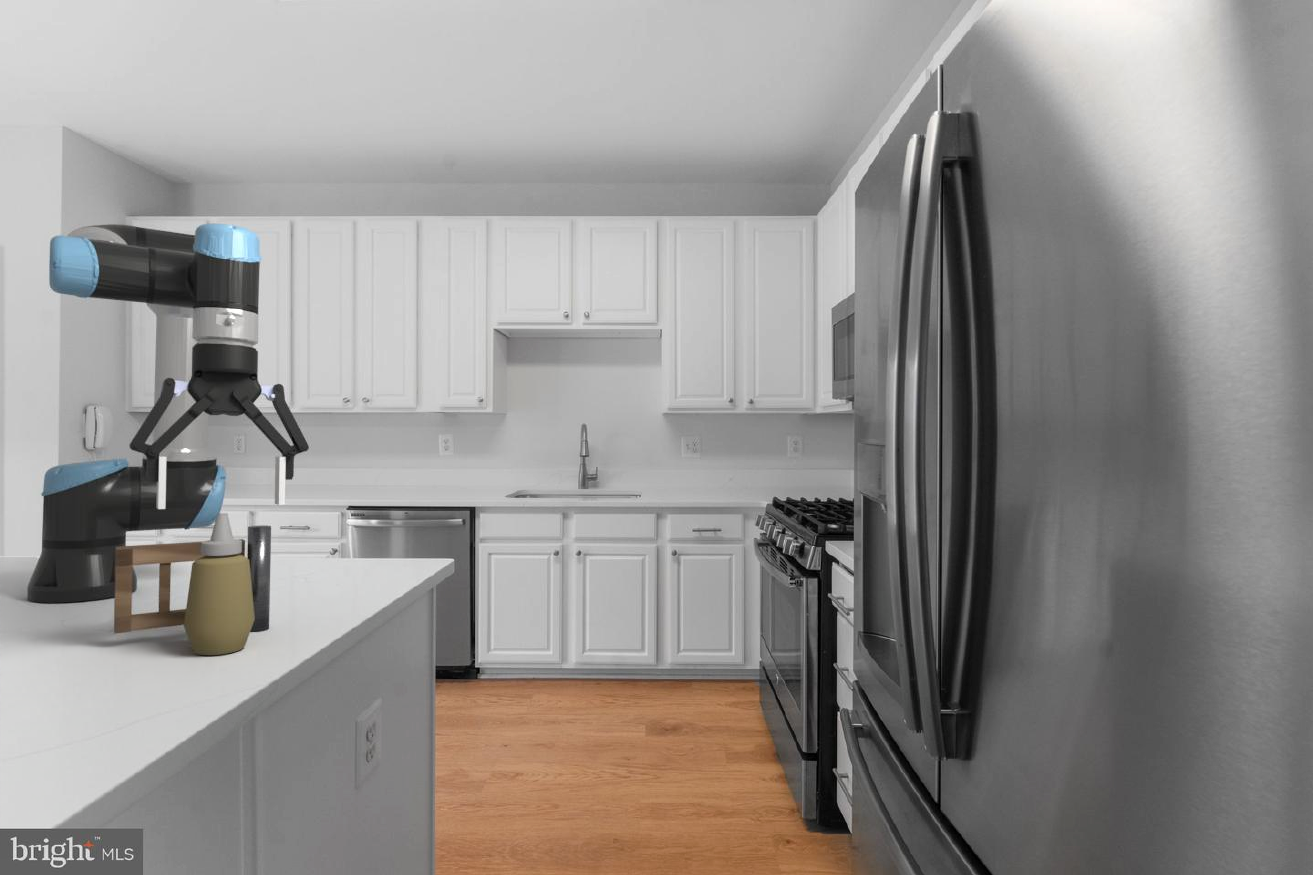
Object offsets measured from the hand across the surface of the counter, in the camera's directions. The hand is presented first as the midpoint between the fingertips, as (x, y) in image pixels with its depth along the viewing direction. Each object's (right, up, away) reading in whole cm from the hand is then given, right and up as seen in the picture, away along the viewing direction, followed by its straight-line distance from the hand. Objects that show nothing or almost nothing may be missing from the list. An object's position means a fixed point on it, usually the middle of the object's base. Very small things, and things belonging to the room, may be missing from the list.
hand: (222, 506), depth 98 cm
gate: (-9, -17, +5) cm, 20 cm away
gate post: (-1, -19, +11) cm, 22 cm away
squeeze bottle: (-1, -19, 0) cm, 19 cm away
